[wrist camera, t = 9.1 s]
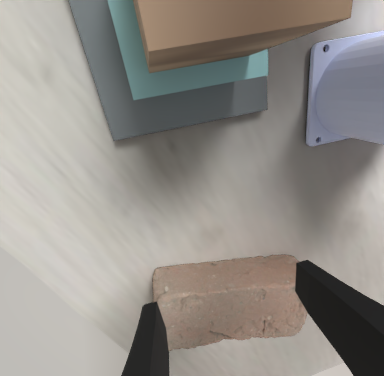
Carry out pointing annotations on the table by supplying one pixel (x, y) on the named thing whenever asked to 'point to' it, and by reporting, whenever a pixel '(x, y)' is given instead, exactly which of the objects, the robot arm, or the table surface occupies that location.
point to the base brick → (181, 77)
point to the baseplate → (158, 105)
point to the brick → (228, 300)
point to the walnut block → (226, 27)
